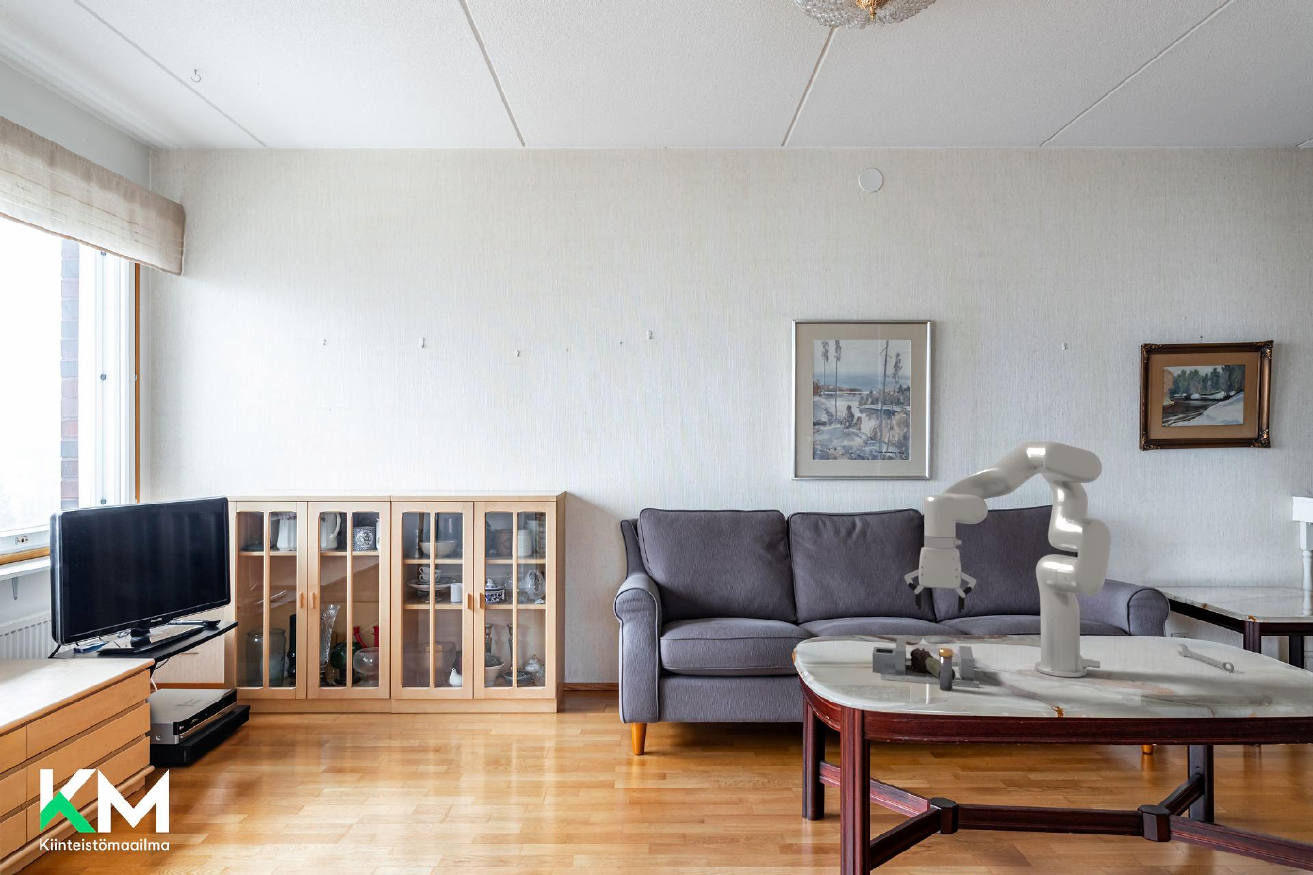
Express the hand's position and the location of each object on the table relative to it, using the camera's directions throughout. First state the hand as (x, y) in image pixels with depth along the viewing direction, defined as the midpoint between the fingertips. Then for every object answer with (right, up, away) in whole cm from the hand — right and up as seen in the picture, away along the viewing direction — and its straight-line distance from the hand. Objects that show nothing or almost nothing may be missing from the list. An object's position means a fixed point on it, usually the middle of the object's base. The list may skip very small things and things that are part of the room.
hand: (939, 610), depth 200 cm
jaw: (+10, -19, +9) cm, 24 cm away
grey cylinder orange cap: (+1, -19, -2) cm, 20 cm away
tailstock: (-8, -20, +15) cm, 26 cm away
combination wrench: (+83, -20, +22) cm, 88 cm away
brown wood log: (+1, -20, +12) cm, 23 cm away
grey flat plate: (+1, -20, +12) cm, 23 cm away
